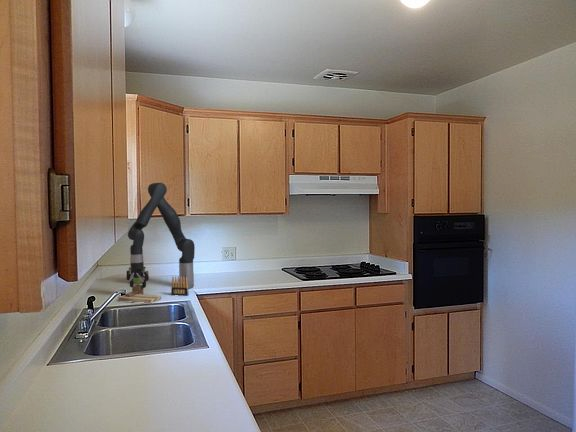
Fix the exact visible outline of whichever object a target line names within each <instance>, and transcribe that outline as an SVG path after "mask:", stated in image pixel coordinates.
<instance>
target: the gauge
mask: <svg viewBox="0 0 576 432" xmlns="http://www.w3.org/2000/svg"><path fill="white" fill-rule="evenodd" d="M135 294H143V295H144V288H142V284H134V286H132V287H131V291H130V292H127V293H124V295H125V296H132V295H135Z"/></svg>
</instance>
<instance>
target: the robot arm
mask: <svg viewBox="0 0 576 432" xmlns="http://www.w3.org/2000/svg"><path fill="white" fill-rule="evenodd" d="M147 191H148V192H147V193H148V195H149V196H150V199H149V200H148V202H147V203H146V204H145V205H144V207H142V209H141V210H140V212H139V214H138V216H137V218H136V220H135V222H134V223H133V224H132V225H131V227H130V228H129V229H128V232H127V236H128V239H129V240H131V241H133V242H132V244H131V245H130V247H129V248H130V249H129V251H130V258H129V260H130V262H129V264H130V267H131V270H129V269H128V270H126V275H125V276H126V279H125V280H127V281H128V282H129V287H130V288H132V286H134V285H135V284H134V283H133V279H134V278H140V279H141V280H142V283H141V285H142V288H143V289H144V288H145V289H146V287H147V281H149V280H150V277H149V270H145V271H143V268H144V267H145V266H144V253H143V252H144V250H143V246H144V242H145V232H144V231H143V229H144V228H146V227H147V226H148V224H149V222H150V220H151V218H152V216H153V214H154V213H155V211H156V209H157V210H158V211H159V213H160V215H161V217H162V219H163V221H164V223H165V224H166V227H167V228H168V231H169V232H170V234H171V236H172V238H173V241H174V243H175V247H176V248H177V249H178V251H179V252H181V257H179V260H178V264H179V265H178V268H179V271H178V273H179V275H178V276H179V281H180V278H181V277H182V283H183V277H184V278H185V280H186V277H187V281H188V290H190V289H193V288H194V287H195V282H194V281H195V274H194V259H195V249H196V247H195V243H194V240H192V239H190V238H187V237H186V236H185V235H184V233H183V230H182V225H181V224H182V223H181V220H180V217H179V215H178V213H177V211H176V210H175V209H174V207H173V206H171V204H169V202H168V201H167V200H166V198H165V195H166V193H167V192H168V188H167V186H166V184H165V183H164V182H163V183H162V182H153V183H150V184H149V185H148V188H147ZM143 273H144V275H143ZM131 274H132V275H131Z"/></svg>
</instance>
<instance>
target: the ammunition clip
mask: <svg viewBox="0 0 576 432" xmlns="http://www.w3.org/2000/svg"><path fill="white" fill-rule="evenodd" d="M170 293H171V296H175V295H178V296H179V297H182V296H183V297H188V296H189V289H188V281H187V277H186V280H185V278H184V277H183V283H182V277H181V278H180V281H179V275H178V276H176V275H175V276H172V277H171V292H170Z"/></svg>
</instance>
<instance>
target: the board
mask: <svg viewBox="0 0 576 432" xmlns="http://www.w3.org/2000/svg"><path fill="white" fill-rule="evenodd" d="M117 299H118V300H117V301H118V302H119V301H132V302H144V303H152V304H154V303H153V302H155V301H157V300H159V301H161V300H162V295H158V294H157V295H154V294H144V293H143V294H135V295H132V296H125V294H124V295H122V296H118V297H117ZM160 299H161V300H160ZM157 302H158V301H157ZM144 303H143V304H144ZM155 303H156V302H155Z"/></svg>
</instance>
